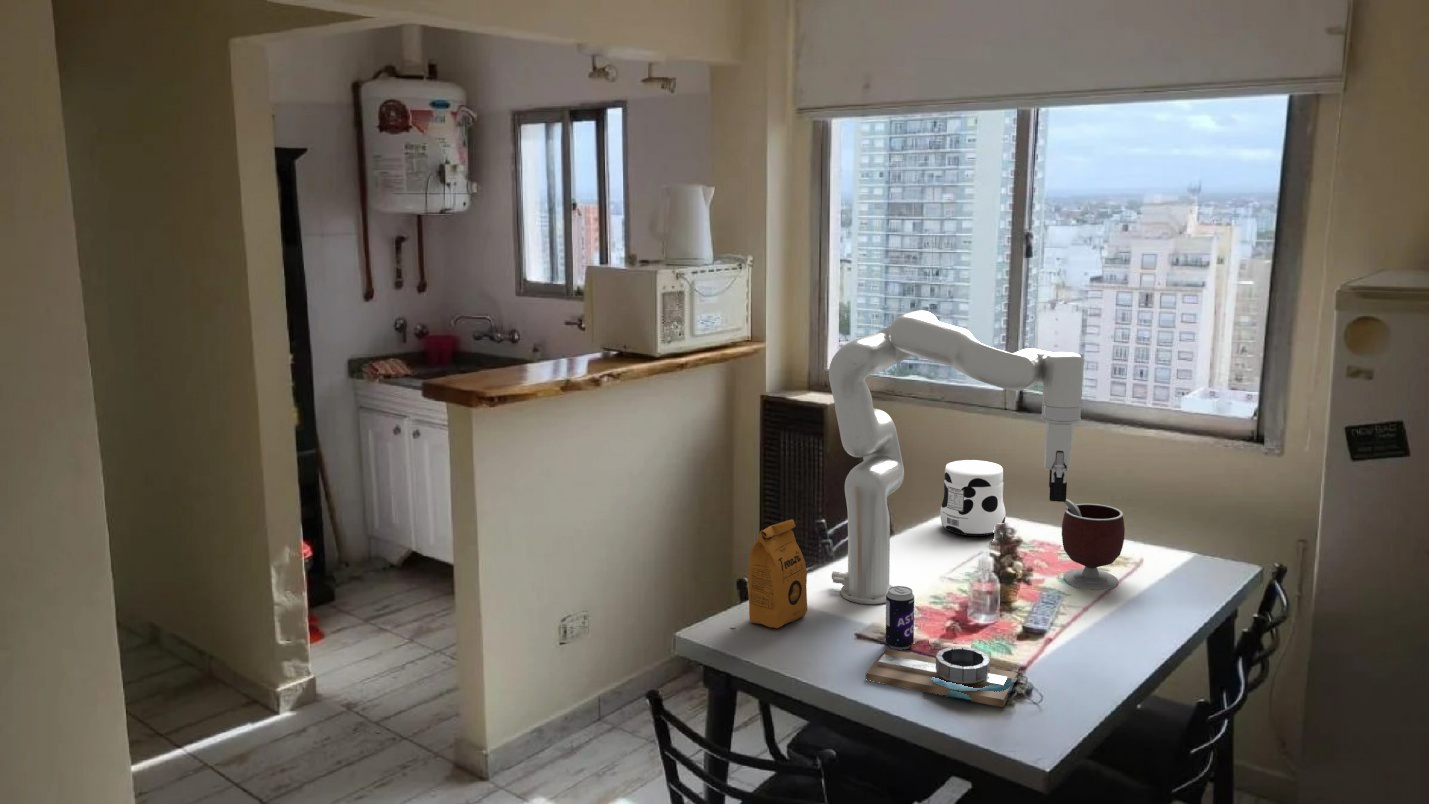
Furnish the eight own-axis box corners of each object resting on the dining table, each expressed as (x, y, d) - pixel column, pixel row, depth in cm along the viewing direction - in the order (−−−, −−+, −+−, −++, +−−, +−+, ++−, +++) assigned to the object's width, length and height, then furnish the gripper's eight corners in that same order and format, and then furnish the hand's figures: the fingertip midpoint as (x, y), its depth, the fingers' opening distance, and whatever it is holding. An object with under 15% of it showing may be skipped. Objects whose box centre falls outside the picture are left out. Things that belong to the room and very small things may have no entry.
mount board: (865, 680, 203) (865, 673, 202) (885, 656, 213) (885, 648, 213) (1003, 707, 191) (1003, 699, 190) (1017, 680, 201) (1017, 672, 201)
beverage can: (896, 653, 214) (897, 597, 212) (880, 643, 219) (880, 588, 217) (919, 647, 217) (920, 592, 214) (902, 637, 221) (902, 583, 219)
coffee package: (814, 618, 233) (814, 522, 229) (776, 634, 224) (775, 535, 220) (781, 606, 240) (780, 512, 236) (742, 622, 231) (741, 525, 227)
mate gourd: (1127, 576, 253) (1131, 496, 249) (1114, 595, 242) (1118, 511, 238) (1061, 565, 261) (1064, 487, 258) (1045, 583, 250) (1049, 502, 246)
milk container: (1004, 522, 296) (1006, 460, 293) (1005, 542, 280) (1008, 476, 276) (940, 519, 300) (942, 458, 297) (939, 538, 284) (940, 473, 280)
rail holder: (872, 671, 203) (873, 652, 202) (888, 652, 211) (888, 633, 210) (999, 695, 192) (1000, 675, 191) (1010, 674, 200) (1011, 655, 200)
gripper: (1041, 404, 224) (1038, 482, 228) (1041, 421, 208) (1038, 505, 211) (1079, 405, 222) (1075, 484, 226) (1082, 423, 206) (1077, 507, 209)
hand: (1057, 494), depth 219 cm, fingers open, 9 cm apart
